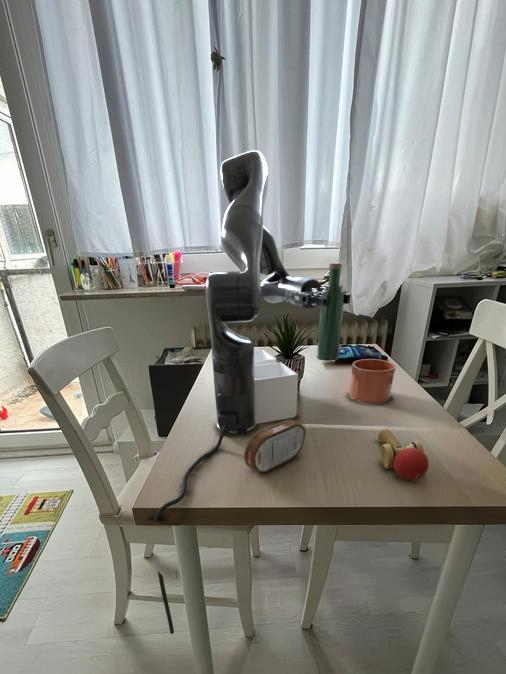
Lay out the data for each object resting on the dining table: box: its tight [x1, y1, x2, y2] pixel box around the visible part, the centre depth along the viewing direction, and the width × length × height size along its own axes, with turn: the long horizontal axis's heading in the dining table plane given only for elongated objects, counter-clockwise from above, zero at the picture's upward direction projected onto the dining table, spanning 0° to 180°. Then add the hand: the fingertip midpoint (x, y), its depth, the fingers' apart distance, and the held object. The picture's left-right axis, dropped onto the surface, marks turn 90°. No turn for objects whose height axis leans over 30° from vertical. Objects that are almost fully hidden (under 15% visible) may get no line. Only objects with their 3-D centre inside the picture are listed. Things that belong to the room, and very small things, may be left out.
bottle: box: [316, 261, 345, 362], centre depth 102 cm, size 6×6×23 cm
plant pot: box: [348, 358, 397, 404], centre depth 106 cm, size 11×11×9 cm
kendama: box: [377, 428, 430, 482], centre depth 77 cm, size 8×6×18 cm
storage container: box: [254, 349, 299, 425], centre depth 104 cm, size 25×11×11 cm, turn 18°
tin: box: [243, 418, 306, 474], centre depth 77 cm, size 15×3×8 cm, turn 131°
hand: (338, 300), depth 98 cm, fingers closed on bottle, 6 cm apart
